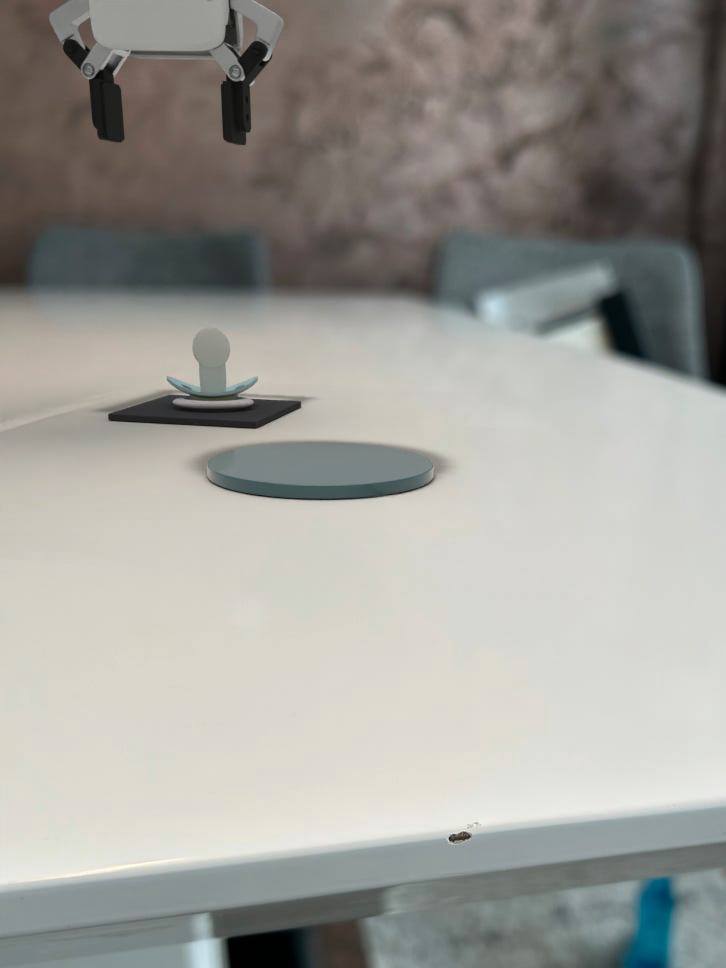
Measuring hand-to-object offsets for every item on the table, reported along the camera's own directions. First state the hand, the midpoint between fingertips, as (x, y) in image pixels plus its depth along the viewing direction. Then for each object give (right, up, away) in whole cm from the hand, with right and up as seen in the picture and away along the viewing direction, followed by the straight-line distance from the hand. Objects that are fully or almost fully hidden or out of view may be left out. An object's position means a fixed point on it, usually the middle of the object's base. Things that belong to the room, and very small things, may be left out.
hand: (172, 142), depth 82 cm
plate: (+13, -27, -13) cm, 33 cm away
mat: (+1, -19, +9) cm, 20 cm away
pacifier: (+1, -18, +9) cm, 20 cm away
